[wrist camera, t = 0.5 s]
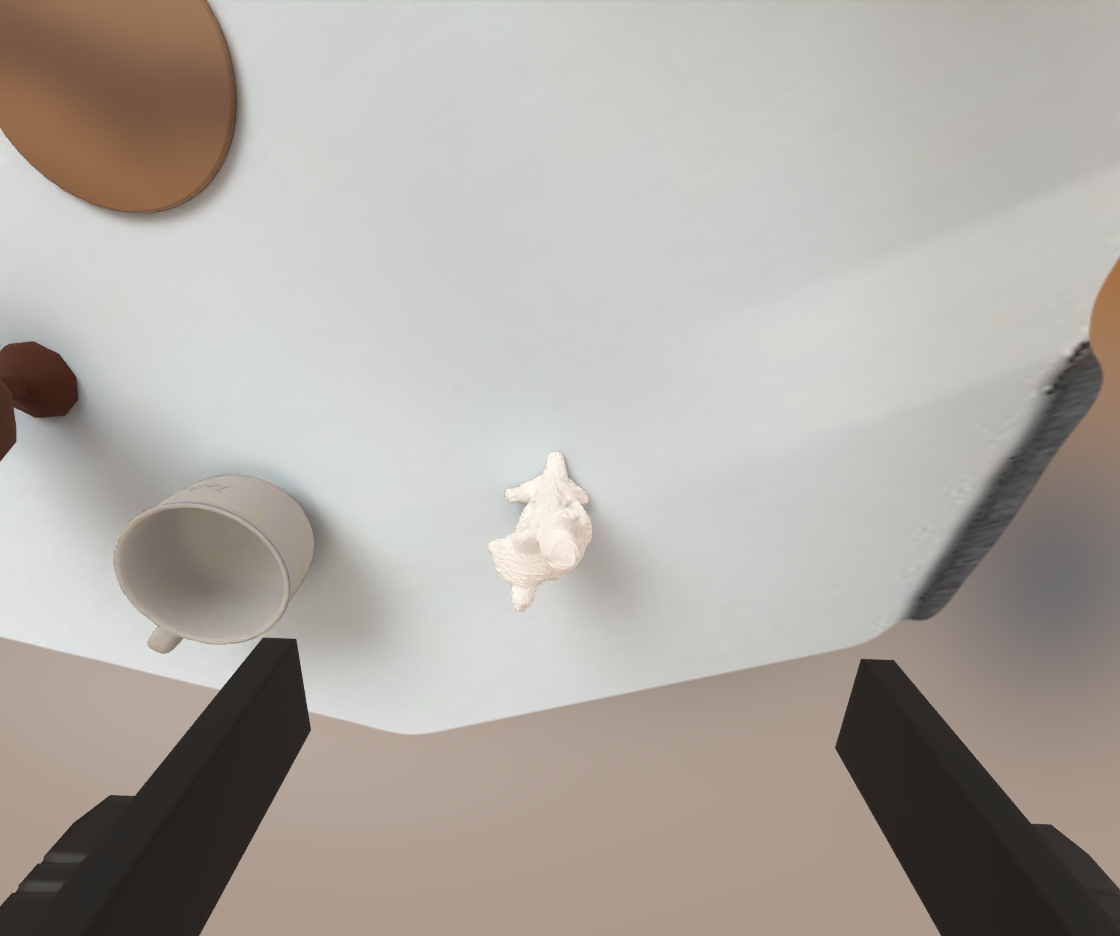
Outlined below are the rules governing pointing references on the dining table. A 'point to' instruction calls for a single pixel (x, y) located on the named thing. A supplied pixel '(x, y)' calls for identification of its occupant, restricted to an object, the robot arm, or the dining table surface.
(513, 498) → the koala figurine
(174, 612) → the teacup
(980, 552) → the dining table surface
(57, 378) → the ice cream bowl
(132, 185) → the brown round coaster
